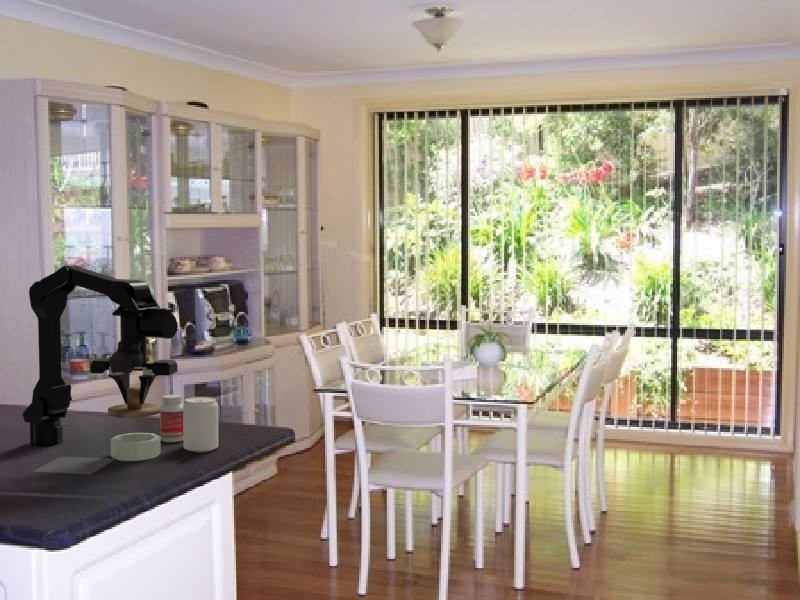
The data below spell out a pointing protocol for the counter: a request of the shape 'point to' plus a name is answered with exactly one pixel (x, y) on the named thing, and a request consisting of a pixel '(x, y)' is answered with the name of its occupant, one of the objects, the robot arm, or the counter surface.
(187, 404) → the beverage can
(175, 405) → the pill bottle
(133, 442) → the bowl
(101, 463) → the mat
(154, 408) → the lid
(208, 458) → the counter surface
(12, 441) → the counter surface
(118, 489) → the counter surface
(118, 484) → the counter surface
